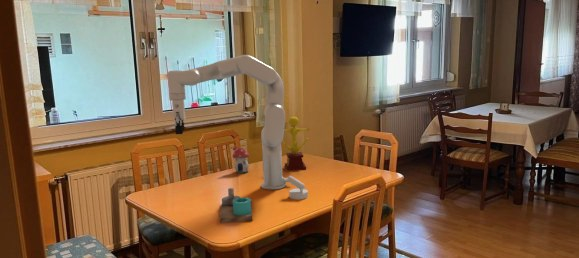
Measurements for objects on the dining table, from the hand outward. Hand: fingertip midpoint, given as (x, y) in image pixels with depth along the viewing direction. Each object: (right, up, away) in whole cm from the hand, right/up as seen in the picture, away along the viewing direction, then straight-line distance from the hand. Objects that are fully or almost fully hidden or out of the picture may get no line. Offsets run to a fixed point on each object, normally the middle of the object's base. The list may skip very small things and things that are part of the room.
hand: (180, 132), depth 215 cm
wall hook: (+56, -30, -6) cm, 64 cm away
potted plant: (+56, -21, +46) cm, 75 cm away
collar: (+33, -33, -29) cm, 55 cm away
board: (+30, -34, -23) cm, 51 cm away
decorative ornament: (+25, -23, +40) cm, 53 cm away
